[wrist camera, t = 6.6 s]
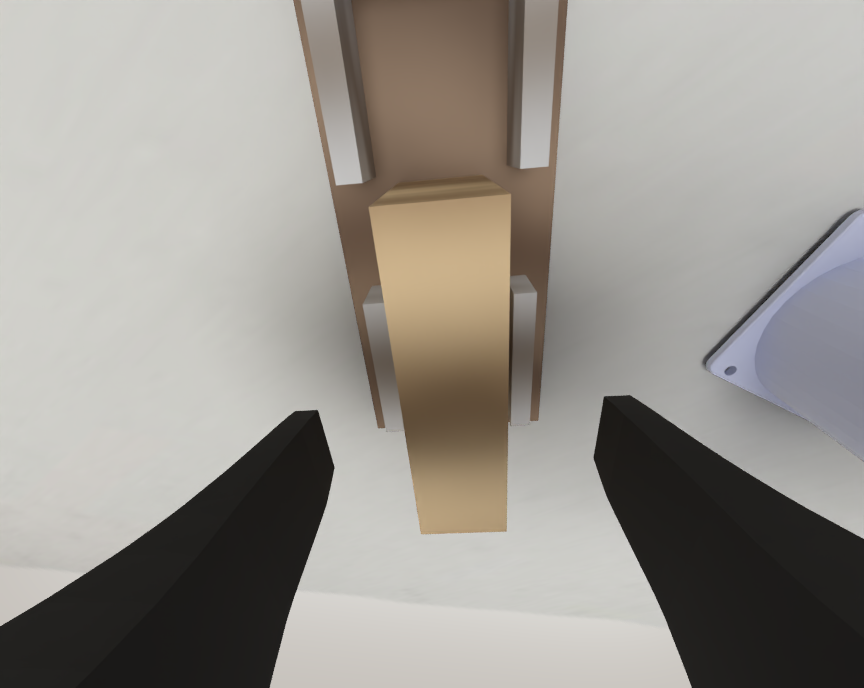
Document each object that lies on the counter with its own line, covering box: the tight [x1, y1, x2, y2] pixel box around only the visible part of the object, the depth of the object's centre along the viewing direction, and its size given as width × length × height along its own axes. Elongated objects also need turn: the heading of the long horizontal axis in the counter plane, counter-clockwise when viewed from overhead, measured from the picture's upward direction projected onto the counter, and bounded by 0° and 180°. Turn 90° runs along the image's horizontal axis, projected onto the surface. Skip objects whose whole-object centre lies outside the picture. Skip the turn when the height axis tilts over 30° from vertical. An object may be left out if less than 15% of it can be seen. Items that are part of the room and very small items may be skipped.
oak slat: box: [369, 175, 511, 534], centre depth 13 cm, size 11×3×6 cm, turn 5°
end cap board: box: [293, 0, 568, 432], centre depth 13 cm, size 18×8×4 cm, turn 5°
